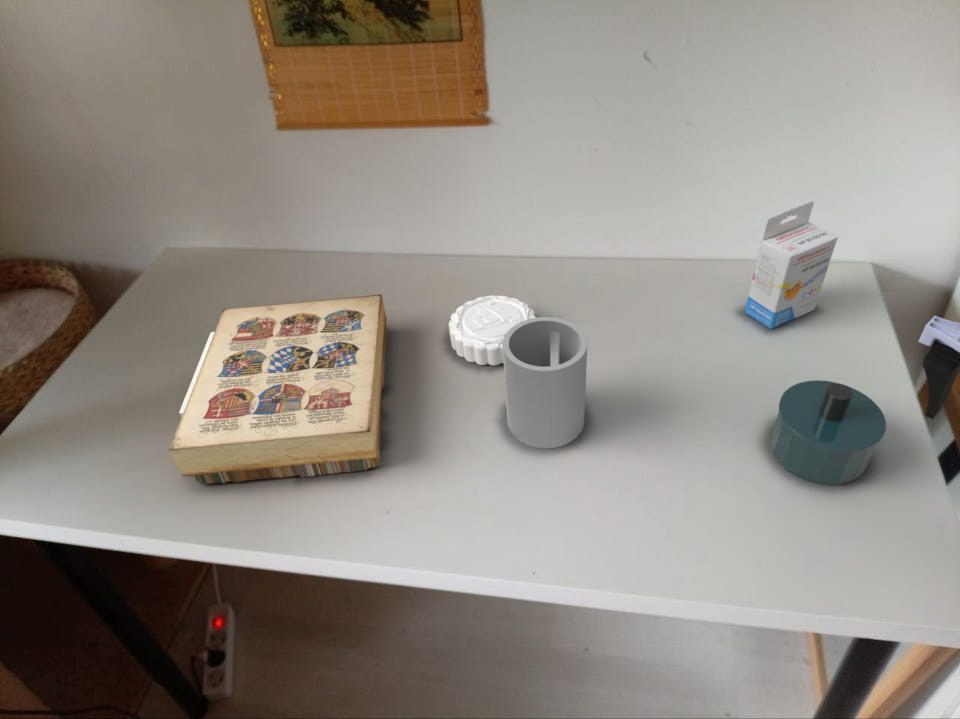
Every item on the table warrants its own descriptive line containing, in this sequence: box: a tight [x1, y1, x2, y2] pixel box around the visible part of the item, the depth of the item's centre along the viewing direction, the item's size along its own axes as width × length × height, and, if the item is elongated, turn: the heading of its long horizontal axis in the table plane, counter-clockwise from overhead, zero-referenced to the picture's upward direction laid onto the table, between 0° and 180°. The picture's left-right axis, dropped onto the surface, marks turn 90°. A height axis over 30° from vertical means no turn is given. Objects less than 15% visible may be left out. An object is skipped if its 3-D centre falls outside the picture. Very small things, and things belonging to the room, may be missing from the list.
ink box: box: [744, 200, 839, 330], centre depth 89 cm, size 8×5×15 cm, turn 119°
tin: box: [770, 413, 877, 486], centre depth 73 cm, size 10×10×5 cm
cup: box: [503, 316, 588, 450], centre depth 78 cm, size 9×9×12 cm
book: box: [168, 293, 388, 485], centre depth 86 cm, size 25×6×28 cm
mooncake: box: [448, 294, 537, 367], centre depth 93 cm, size 12×12×4 cm
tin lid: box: [778, 379, 887, 453], centre depth 70 cm, size 10×10×4 cm
